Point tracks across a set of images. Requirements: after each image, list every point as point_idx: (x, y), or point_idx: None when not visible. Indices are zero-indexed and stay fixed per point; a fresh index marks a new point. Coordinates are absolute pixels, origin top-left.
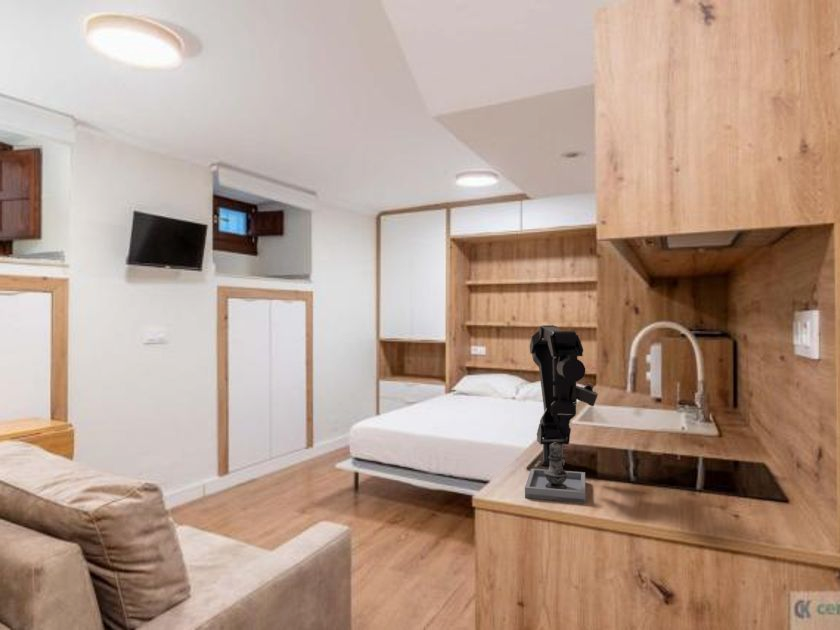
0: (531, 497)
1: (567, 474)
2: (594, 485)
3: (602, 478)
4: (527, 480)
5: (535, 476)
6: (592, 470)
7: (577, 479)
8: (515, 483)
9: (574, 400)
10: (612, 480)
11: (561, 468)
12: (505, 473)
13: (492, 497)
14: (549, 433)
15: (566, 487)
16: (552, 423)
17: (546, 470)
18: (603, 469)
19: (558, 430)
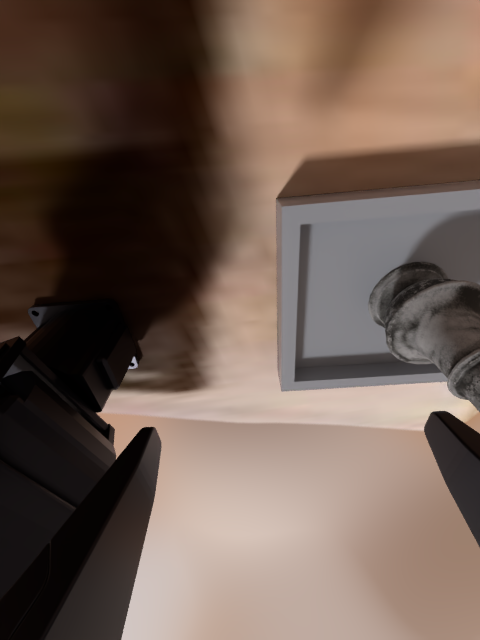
0: None
1: (467, 281)
2: (315, 149)
3: (192, 111)
4: (414, 382)
5: (303, 365)
6: (84, 176)
7: (306, 232)
8: (339, 392)
9: None
10: (205, 42)
11: (477, 318)
12: (258, 422)
13: (453, 413)
14: (103, 460)
15: (427, 263)
16: (51, 519)
17: (418, 359)
18: (28, 114)
19: (57, 448)
